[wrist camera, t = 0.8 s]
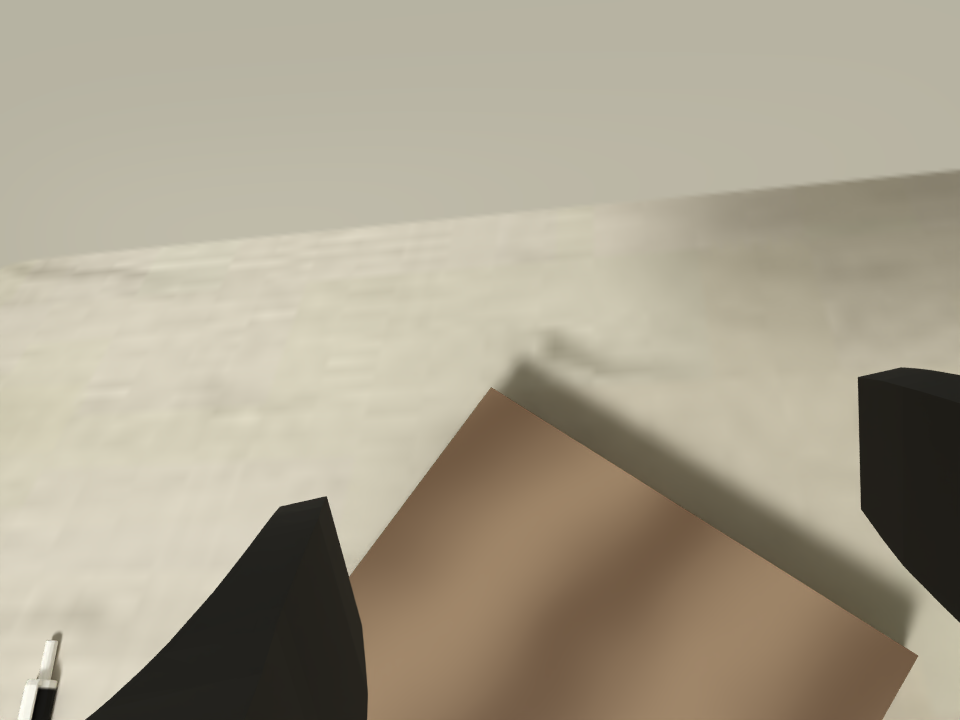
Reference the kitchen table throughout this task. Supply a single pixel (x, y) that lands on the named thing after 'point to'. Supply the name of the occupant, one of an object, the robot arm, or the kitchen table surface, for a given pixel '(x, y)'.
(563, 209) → the kitchen table surface
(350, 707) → the robot arm
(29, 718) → the pen
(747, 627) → the walnut base
